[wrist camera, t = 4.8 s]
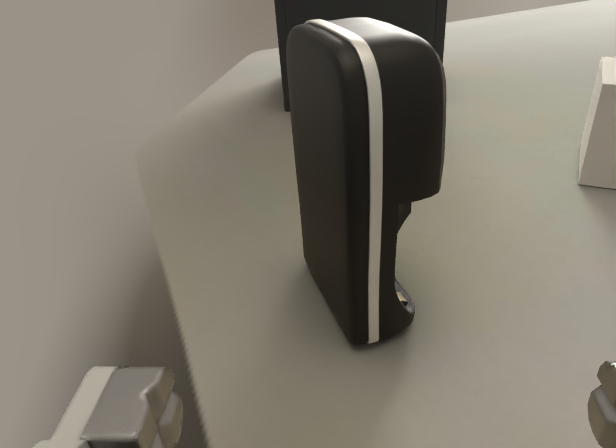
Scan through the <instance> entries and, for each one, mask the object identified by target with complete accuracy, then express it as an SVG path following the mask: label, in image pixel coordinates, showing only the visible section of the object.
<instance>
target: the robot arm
mask: <svg viewBox="0 0 616 448" xmlns="http://www.w3.org/2000/svg"><path fill="white" fill-rule="evenodd" d="M597 377H598V379H599V380H600V382H601V385H600V386H599V387H597V388H596V389H595V390H593V391H592V392H591V394H590V398H589V402H588V417H589V422H590V425H591V429H592V432H593V434H594V436H595V438H596V440H597V442H598V444H599V445H600V446H602V447H603V448H616V361H605V362H604V363H603V364H602V365H601V366H600V368H599V371H598V374H597ZM174 381H175V378H174V375H173V372H172V370H171V368H168V367H129V366H118V367H100V366H96V367H95V366H94V367H93V368H92V369H90V370H89V371H88V372H87V373H86V375H85V377H84V379H83V380H82V382H81V384H80V386H79V388H78V389H77V391H76V393H75V395H74V397H73V399H72V400H71V402H70V404H69V406H68V408H67V409H66V411H65V413H64V415H63V416H62V418H61V420H60V422H59V424H58V426H57V428H56V429H55V431H54V433H53V435H52V436H51V438H50V440H41V441H40V442H39V443H37V444H36V445H35V446H33V447H32V448H174V447H175V446H176V445H177V444H178V441H179V437H180V434H181V429H182V421H183V407H182V401H181V398H180V395H179V394H178V393H176V392H175V391H174V390H173V389H172V387H173V384H174Z"/></svg>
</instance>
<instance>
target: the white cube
mask: <svg viewBox="0 0 616 448" xmlns="http://www.w3.org/2000/svg"><path fill="white" fill-rule="evenodd" d="M578 184H580V185H588V186H595V187H603V188H611V189H616V57H605V56H602V57H601V61H600V65H599V69H598V74H597V78H596V82H595V86H594V91H593V95H592V99H591V103H590V108H589V112H588V116H587V120H586V125H585V129H584V133H583V137H582V141H581V146H580V161H579V177H578Z"/></svg>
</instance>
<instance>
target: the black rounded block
mask: <svg viewBox="0 0 616 448" xmlns="http://www.w3.org/2000/svg"><path fill="white" fill-rule="evenodd" d="M286 57H287V74H288V86H289V99H290V111H291V122H292V133H293V144H294V154H295V164H296V174H297V184H298V193H299V203H300V214H301V225H302V237H303V250H304V258H305V261H306V262H307V264H308V266H309V268H310V270H311V272H312V274H313V276H314V278H315V279H316V281H317V283H318V285H319V287H320V289H321V291H322V292H323V294H324V296H325V298H326V300H327V302H328V303H329V305H330V307H331V309H332V311H333V312H334V314H335V316H336V318H337V320H338V321H339V323H340V325H341V327H342V328H343V330H344V332H345V334H346V335H347V337H348V339H349V340H350V342H351V343H353V344H362V343H367V344H370V343H374V342H377V341H379V339H380V338H383V337H387V336H390V335H393V334H395V333H397V332H399V331H401V330H403V329H405V328H406V327H407V326H409V325H410V324H411V322H412V321H413V318H414V313H415V307H414V304H413V302H412V300H411V299H410V297H409V296H408V294H407V293H406V292H405V290H404V289H403V288H402V287H401V285H400V284H399V283H398V281H397V280H396V279H395V258H396V243H397V233H398V231H399V230H400V228H401V226H402V224H403V223H404V221H405V220H406V218H407V217H408V215H409V214H410V213H411V202H414V201H418V200H422V199H425V198H428V197H431V196H433V195H435V194H437V193H438V192H439V190H440V186H441V177H442V170H443V163H444V150H445V126H446V79H445V74H444V68H443V65H442V62H441V60H440V57H439V55H438V54H437V53H436V52H435V50H434V49H433V48H432V46H431V45H430V44H429V43H428V42H427V41H426V40H424V39H423V38H421V37H419V36H417V35H415V34H413V33H411V32H408V31H406V30H403V29H401V28H398V27H396V26H394V25H391V24H389V23H385V22H382V21H378V20H375V19H371V18H346V19H339V20H331V21H325V20H322V19H315V20H309V21H306V22H305V23H304V24H300V25H296V26H294V27H293V28H292V29H291V31H290V32H289V35H288V39H287V49H286Z"/></svg>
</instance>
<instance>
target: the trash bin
mask: <svg viewBox="0 0 616 448" xmlns="http://www.w3.org/2000/svg"><path fill="white" fill-rule="evenodd" d="M274 1H275V12H276V23H277V33H278V43H279V54H280V65H281V75H282V86H283V96H284V107H285V111H290V99H289V86H288V74H287V57H286V49H287V39H288V35H289V32H290V31H291V29H292V28H293V27H294V26H296V25H300V24H304V23H305V22H306V21H309V20H315V19H322V20H325V21H331V20H339V19H346V18H371V19H375V20H378V21H382V22H385V23H389V24H391V25H394V26H396V27H398V28H401V29H403V30H406V31H408V32H411V33H413V34H415V35H417V36H419V37H421V38H423V39H424V40H426V41H427V42H428V43H429V44H430V45H431V46H432V48H433V49H434V50H435V52H436V53H437V54H438V55H439V57H440V60H441V62H442V65H443V52H444V38H445V25H446V10H447V0H274Z"/></svg>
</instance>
